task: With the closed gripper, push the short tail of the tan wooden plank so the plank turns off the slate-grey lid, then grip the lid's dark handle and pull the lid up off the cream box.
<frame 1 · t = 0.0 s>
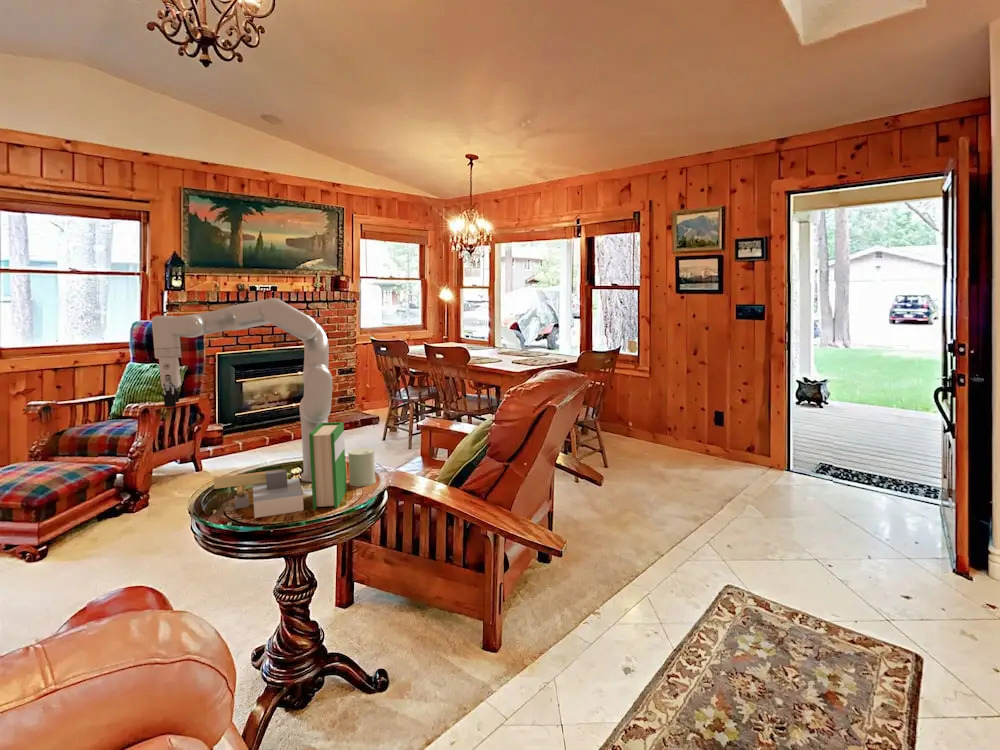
hand: (172, 404, 188), 31 cm above the table, tool pointing down, fingers open, 9 cm apart
can: (362, 483, 203), on the table
snap lid: (277, 491, 178), point 5 cm above the table, touching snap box
hardback book: (330, 500, 185), on the table
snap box: (278, 507, 178), on the table
tan wooden plank: (249, 484, 180), point 7 cm above the table, hinge at 0.0°
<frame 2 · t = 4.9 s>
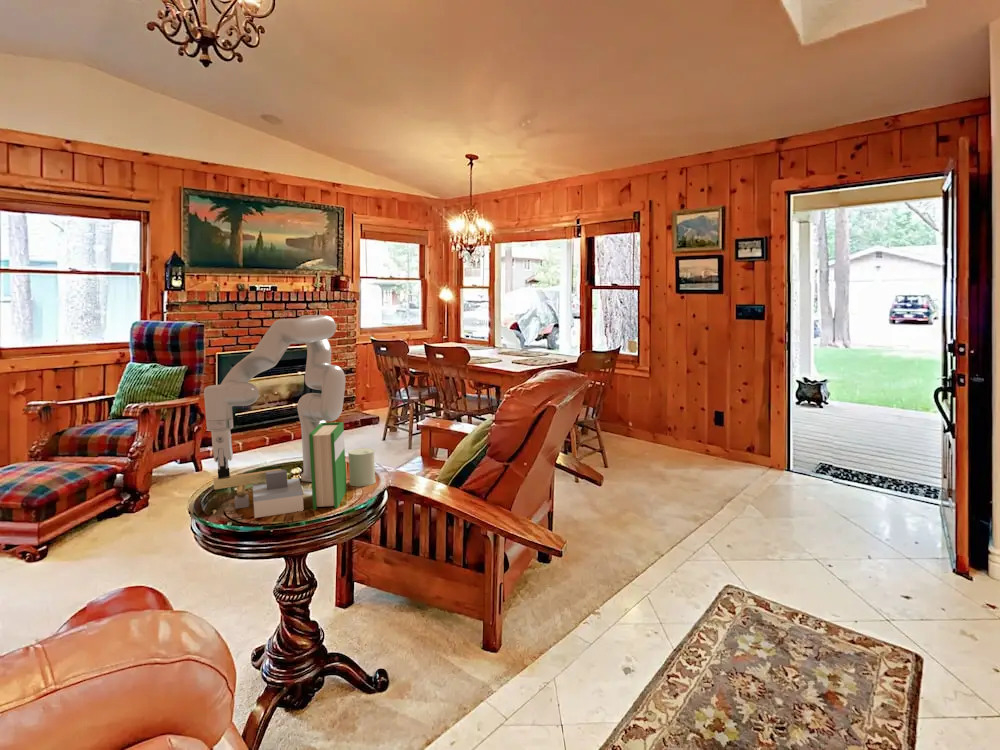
hand: (224, 480, 179), 8 cm above the table, tool pointing down, fingers closed
tan wooden plank: (249, 484, 180), point 7 cm above the table, hinge at 5.9°, touching gripper
everything else where it was.
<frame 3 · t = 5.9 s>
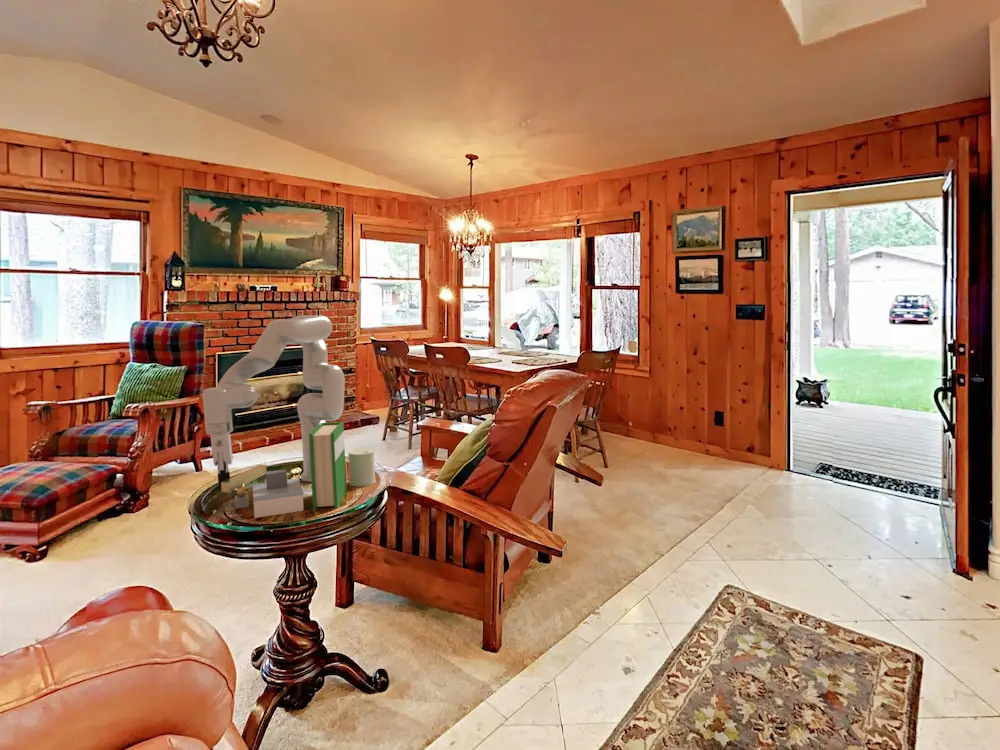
hand: (224, 484, 176), 8 cm above the table, tool pointing down, fingers closed
tan wooden plank: (245, 483, 181), point 7 cm above the table, hinge at 56.0°, touching gripper
everything else where it was.
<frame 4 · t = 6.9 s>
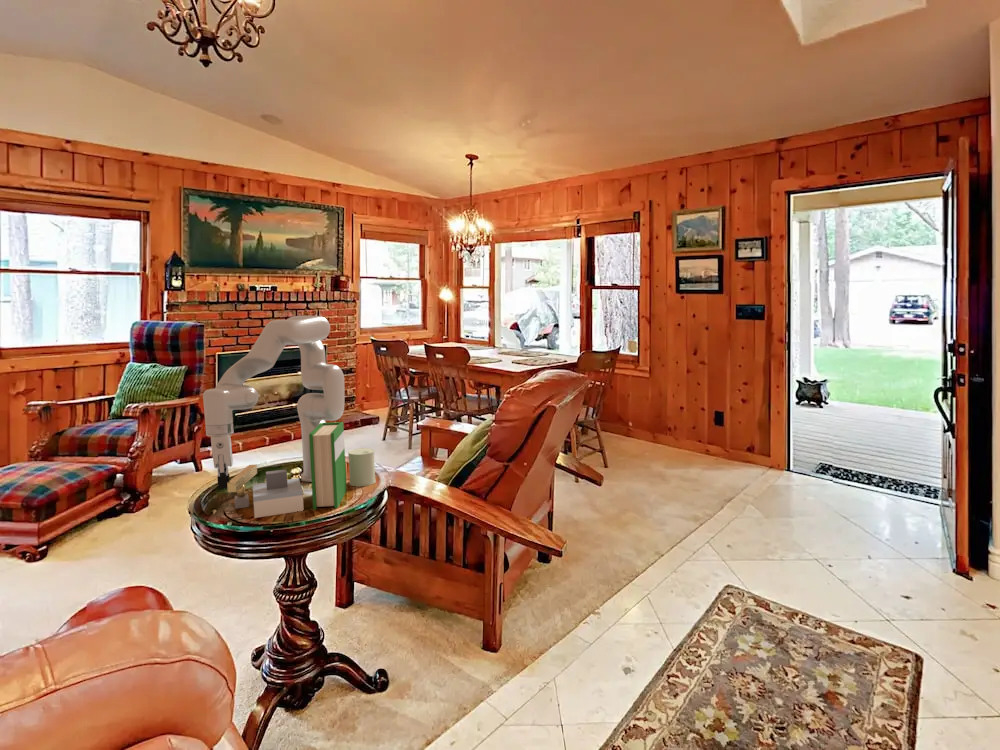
hand: (224, 487, 173), 8 cm above the table, tool pointing down, fingers closed
tan wooden plank: (243, 483, 181), point 7 cm above the table, hinge at 71.8°, touching gripper
everything else where it was.
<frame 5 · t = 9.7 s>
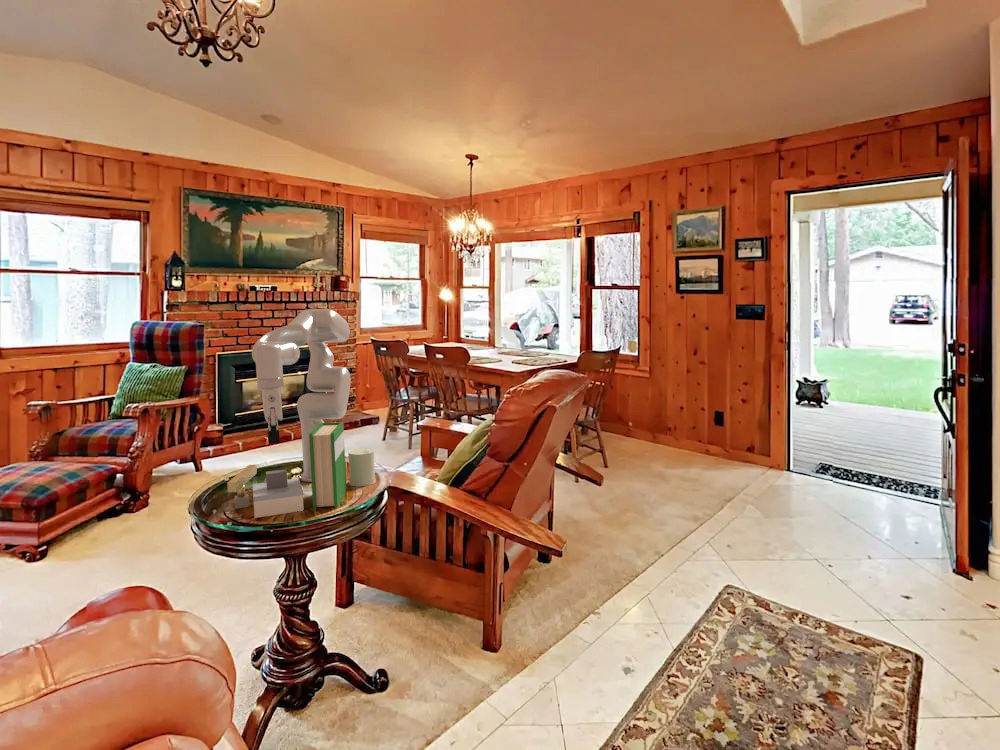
hand: (273, 441, 176), 21 cm above the table, tool pointing down, fingers closed
tan wooden plank: (243, 483, 181), point 7 cm above the table, hinge at 72.2°
everything else where it was.
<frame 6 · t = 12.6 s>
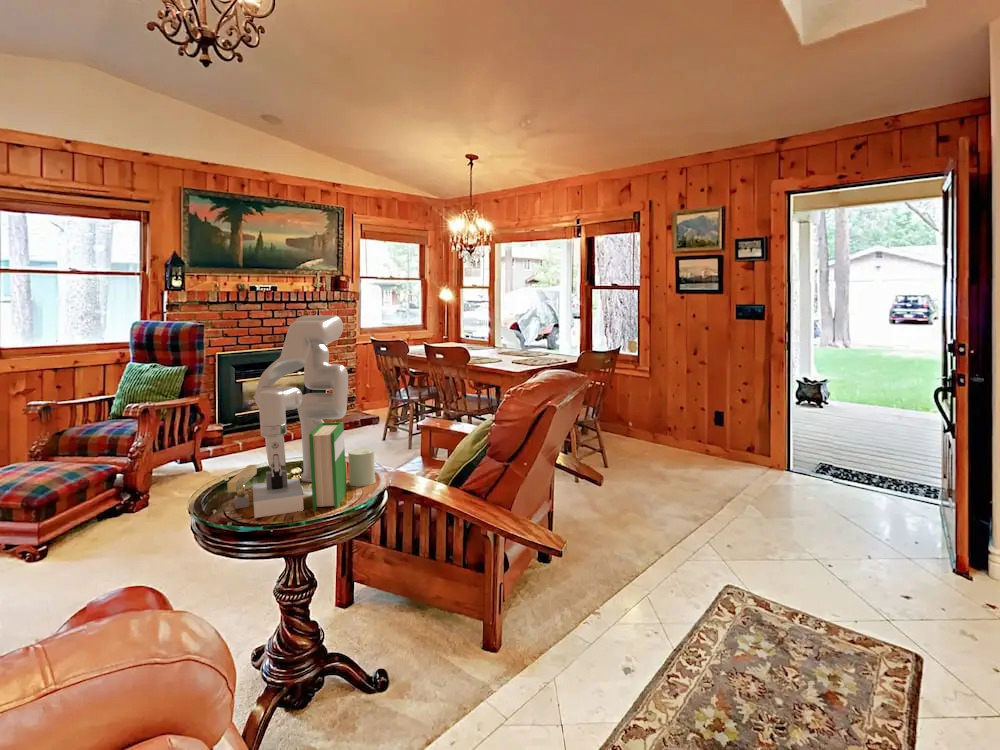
hand: (277, 486, 177), 7 cm above the table, tool pointing down, fingers closed on snap lid, 3 cm apart
snap lid: (277, 491, 178), point 5 cm above the table, touching gripper, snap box
everything else where it was.
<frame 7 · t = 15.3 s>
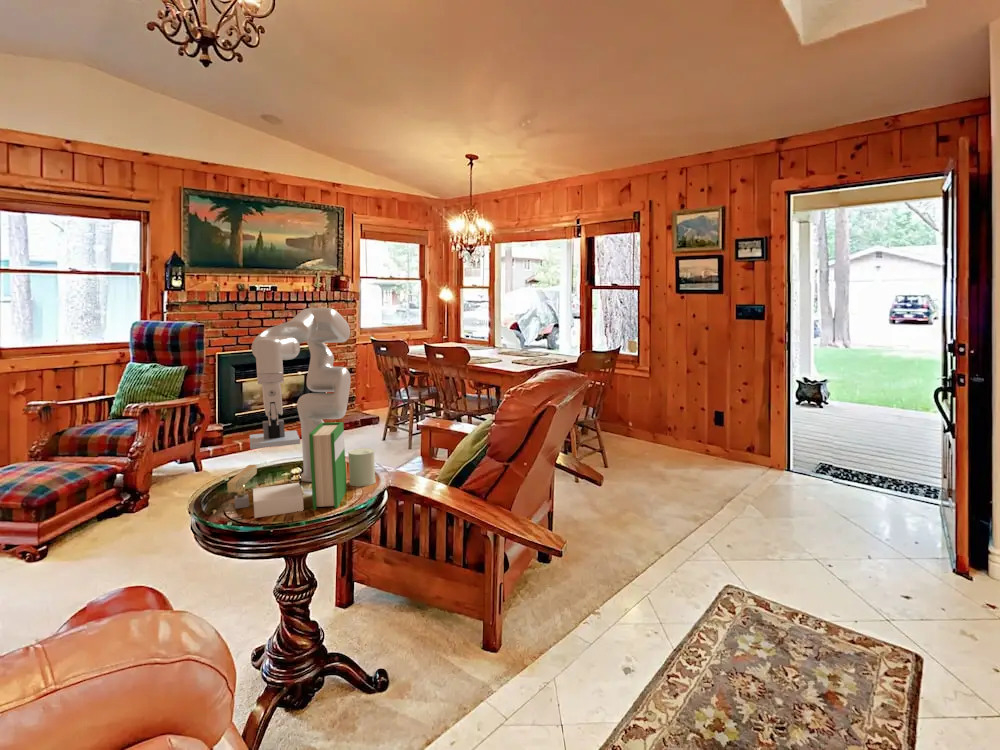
hand: (274, 436, 176), 23 cm above the table, tool pointing down, fingers closed on snap lid, 3 cm apart
snap lid: (274, 441, 176), point 21 cm above the table, touching gripper
everything else where it was.
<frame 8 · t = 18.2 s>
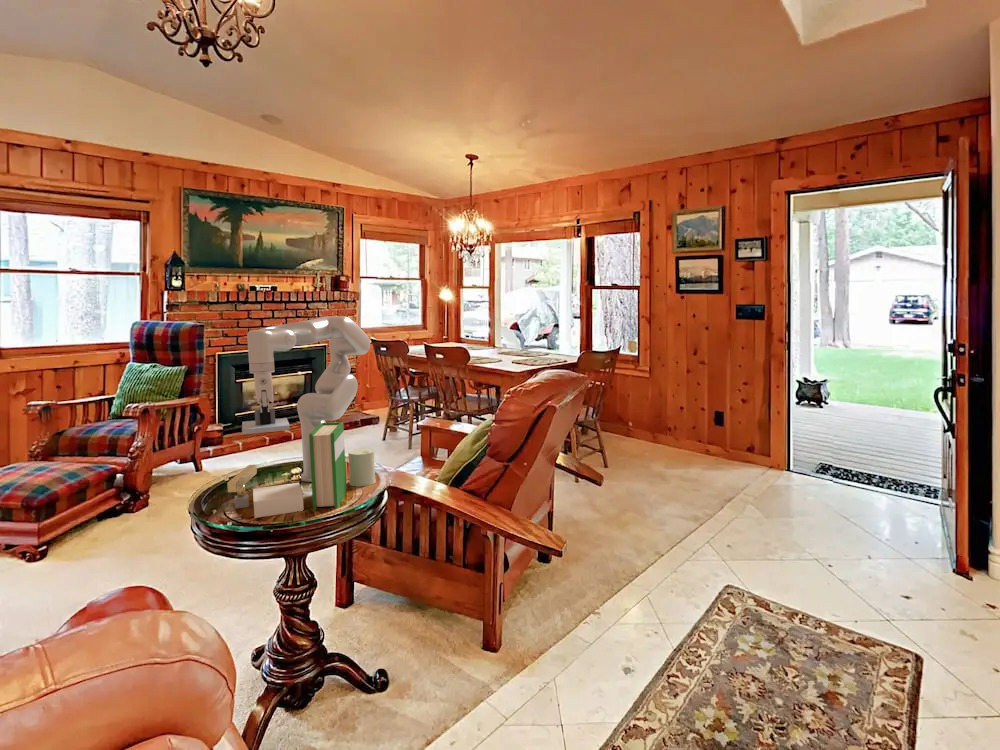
hand: (265, 422, 185), 25 cm above the table, tool pointing down, fingers closed on snap lid, 3 cm apart
snap lid: (265, 427, 186), point 23 cm above the table, touching gripper
everything else where it was.
at the end: tan wooden plank at +72° (first picture: +0°); snap lid inside the target area (0.0 cm from its centre), point 23.4 cm above the table; the gripper is holding snap lid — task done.
